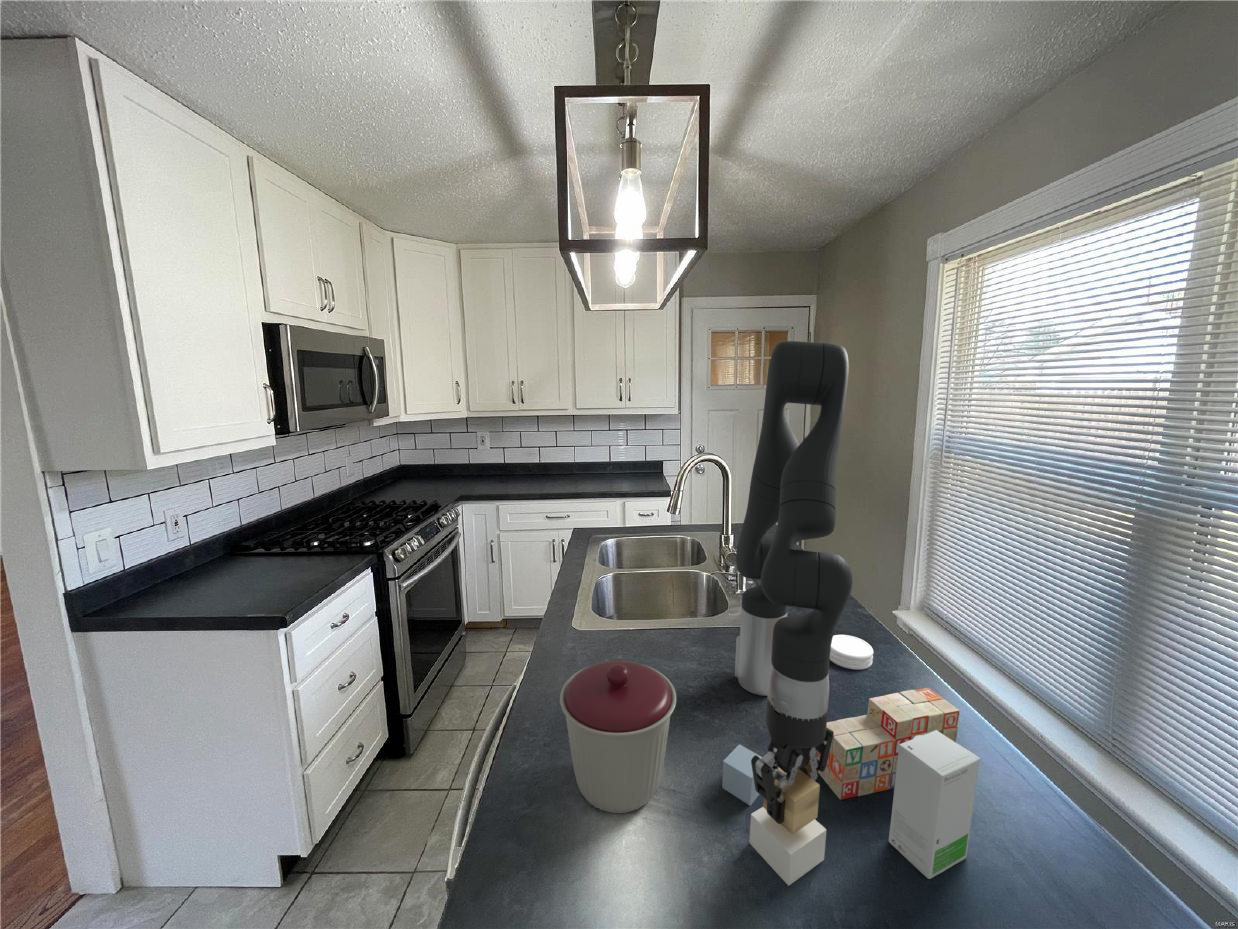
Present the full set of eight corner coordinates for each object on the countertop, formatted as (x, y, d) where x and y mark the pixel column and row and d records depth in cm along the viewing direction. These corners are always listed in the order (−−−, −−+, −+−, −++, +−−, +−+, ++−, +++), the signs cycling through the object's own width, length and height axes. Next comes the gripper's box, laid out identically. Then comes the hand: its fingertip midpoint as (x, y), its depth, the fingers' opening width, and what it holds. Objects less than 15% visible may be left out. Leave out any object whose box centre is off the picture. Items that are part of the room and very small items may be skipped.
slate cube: (722, 788, 80) (723, 761, 80) (738, 770, 84) (739, 744, 83) (750, 806, 77) (751, 778, 76) (765, 787, 81) (767, 760, 80)
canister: (647, 733, 92) (648, 628, 89) (694, 813, 76) (698, 688, 72) (551, 760, 86) (547, 648, 82) (579, 852, 70) (577, 717, 66)
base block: (749, 844, 71) (751, 814, 70) (783, 822, 74) (785, 793, 74) (788, 887, 65) (790, 854, 64) (823, 860, 69) (826, 829, 68)
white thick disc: (851, 644, 123) (852, 631, 122) (882, 667, 114) (883, 653, 113) (816, 650, 120) (817, 637, 120) (845, 674, 111) (846, 659, 110)
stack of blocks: (840, 802, 78) (846, 732, 76) (815, 771, 84) (820, 706, 82) (951, 775, 83) (961, 709, 81) (920, 748, 89) (928, 686, 87)
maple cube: (763, 807, 69) (764, 775, 68) (787, 791, 72) (789, 761, 71) (792, 835, 65) (794, 801, 64) (817, 817, 68) (819, 785, 67)
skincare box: (928, 882, 65) (942, 779, 63) (883, 839, 71) (894, 743, 69) (969, 857, 69) (984, 758, 66) (923, 819, 75) (935, 726, 72)
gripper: (809, 666, 72) (801, 770, 75) (736, 700, 65) (731, 813, 68) (856, 694, 66) (846, 806, 69) (782, 735, 59) (775, 858, 62)
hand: (789, 809), depth 68 cm, fingers closed on maple cube, 5 cm apart
